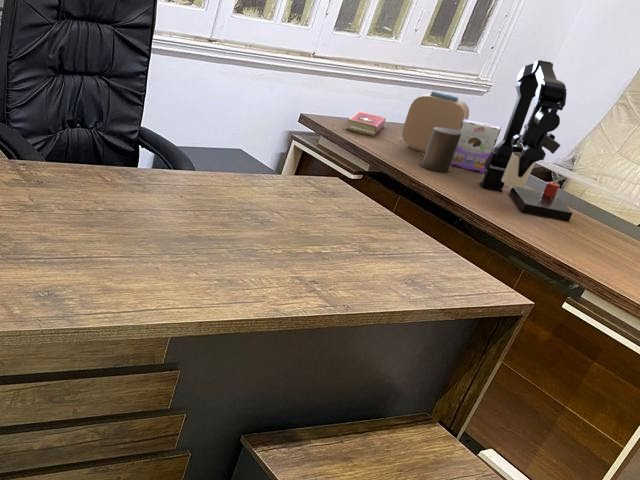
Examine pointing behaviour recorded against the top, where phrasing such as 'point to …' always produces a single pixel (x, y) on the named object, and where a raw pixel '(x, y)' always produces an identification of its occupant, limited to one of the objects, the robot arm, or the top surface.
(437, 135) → the pillar candle
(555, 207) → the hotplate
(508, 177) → the cup
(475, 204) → the top surface
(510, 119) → the robot arm
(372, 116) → the hardcover book
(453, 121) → the alarm clock
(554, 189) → the red cube
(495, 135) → the candy box
